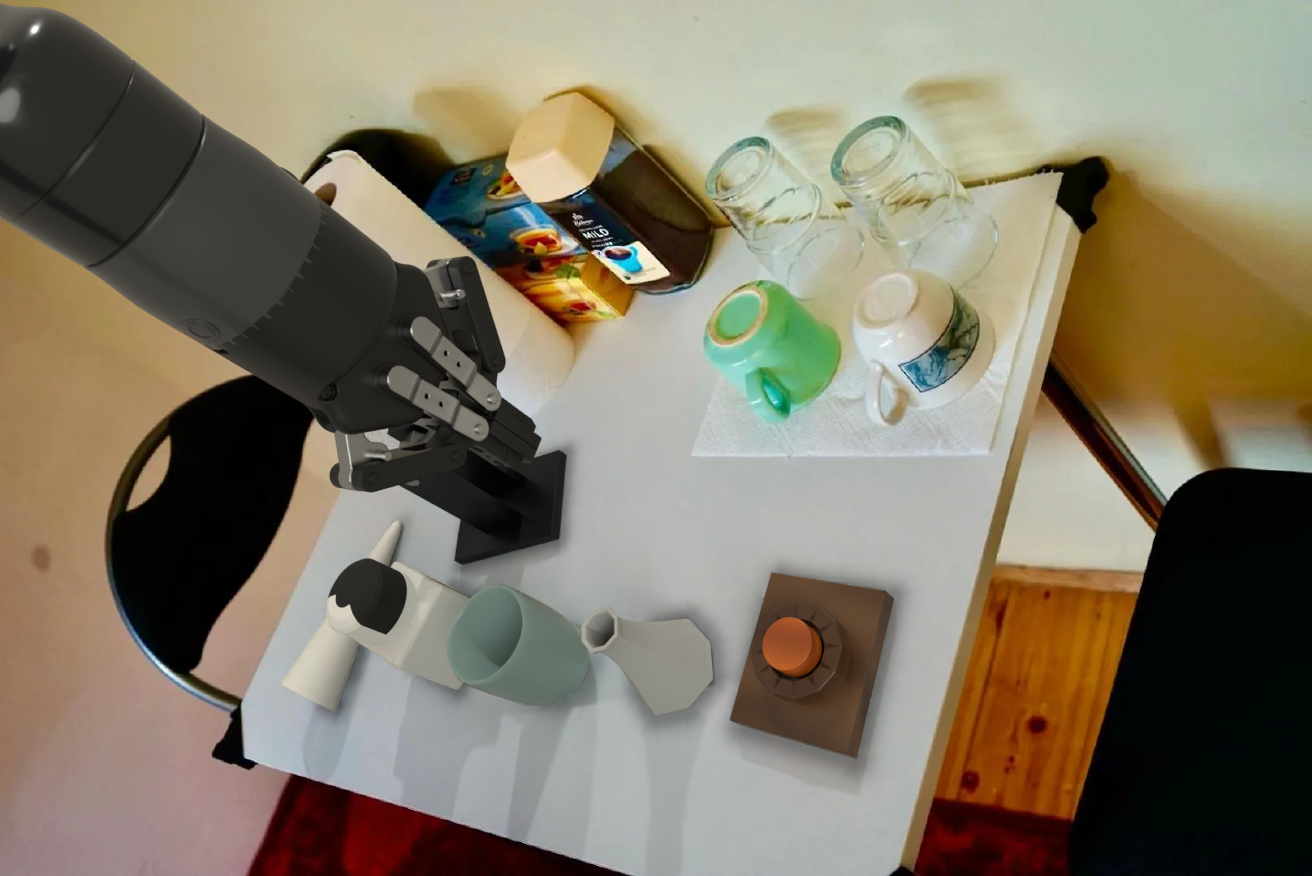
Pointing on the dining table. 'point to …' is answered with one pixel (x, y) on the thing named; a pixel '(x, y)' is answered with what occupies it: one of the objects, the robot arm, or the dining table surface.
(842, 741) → the brown button mount
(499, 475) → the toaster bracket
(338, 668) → the long cone
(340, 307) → the robot arm
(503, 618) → the cup
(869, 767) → the dining table surface
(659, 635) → the flask
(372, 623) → the container
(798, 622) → the button
